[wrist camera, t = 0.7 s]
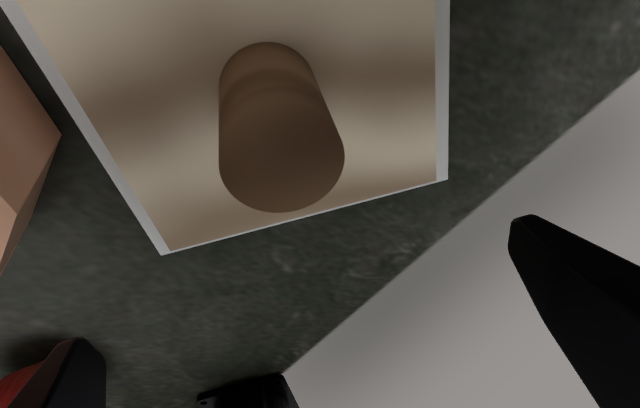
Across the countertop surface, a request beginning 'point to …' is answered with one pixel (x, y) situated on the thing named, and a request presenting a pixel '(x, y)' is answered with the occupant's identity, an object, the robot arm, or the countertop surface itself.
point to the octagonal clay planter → (21, 154)
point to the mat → (84, 124)
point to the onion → (15, 383)
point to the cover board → (183, 117)
